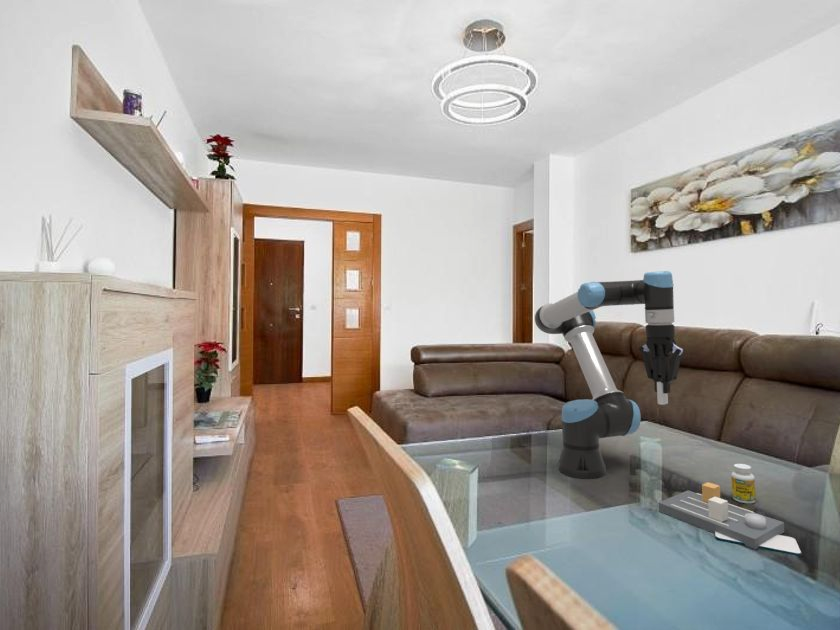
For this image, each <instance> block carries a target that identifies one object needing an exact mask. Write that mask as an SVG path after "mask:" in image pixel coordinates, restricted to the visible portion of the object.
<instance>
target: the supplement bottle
mask: <svg viewBox="0 0 840 630" xmlns="http://www.w3.org/2000/svg"><path fill="white" fill-rule="evenodd" d="M730 475H731V493H732V499H733V500H734V501H736V502H738V503H742V504H747V505H748V504H749V505H750V504H754V503H756V501H757V499H756V498H757V495H756V494H757V493H756V477H755V475H754V474H753V473H752V466H751V465H748V464H745V463H735V464H733V471H732V472H731V474H730Z"/></svg>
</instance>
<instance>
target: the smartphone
mask: <svg viewBox="0 0 840 630" xmlns="http://www.w3.org/2000/svg"><path fill="white" fill-rule="evenodd" d="M713 534H714V539H715V540H716V541H720V542H723V543H728V544H729V543H730V544H736V545H740V546H744V547H746V546H745V544H744V543H743V542H740V541H738V540H735V539H733V538H730V537H728V536H725V535H723V534H720V533H718V532H715V531H714V533H713ZM757 549H761V550H766V551H772V552H776V553H777V552H778V553H782V554H788V555H793V556H802V554H803V553H802V551H801V548H800V545H799V544H798V542H797V539H796V538H795V537H792V536H789V535H783V534H781V535H776V536H774V537H773V538H771V539H769V540H768V541H766V542H764V543H762V544H761V545H759V546H758V548H757Z"/></svg>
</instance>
